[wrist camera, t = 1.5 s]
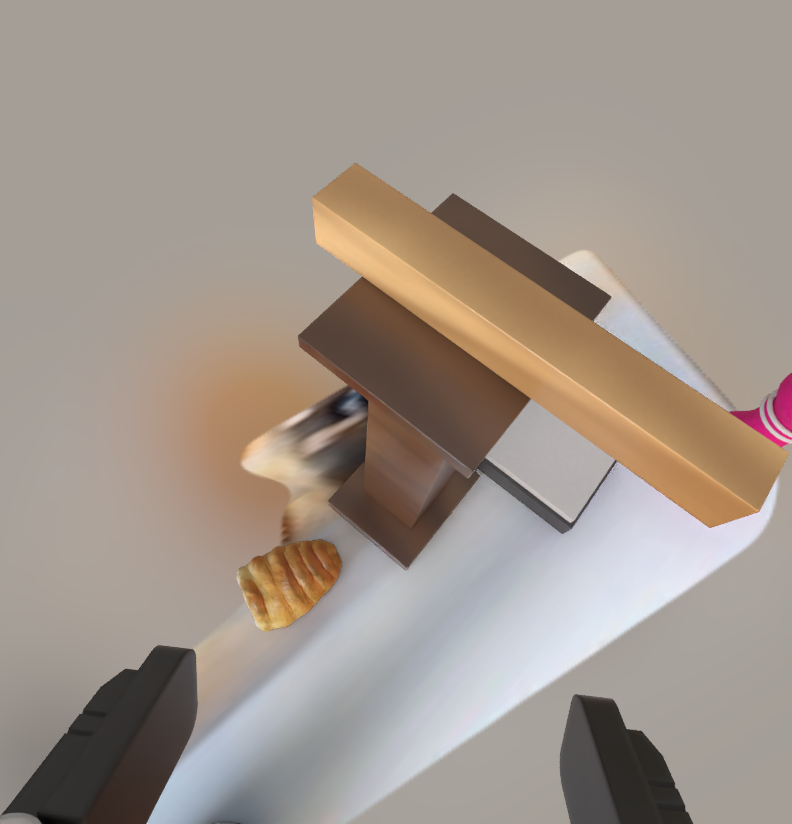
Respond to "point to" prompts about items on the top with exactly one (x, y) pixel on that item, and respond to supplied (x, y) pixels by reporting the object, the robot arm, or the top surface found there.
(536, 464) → the scale
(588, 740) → the robot arm
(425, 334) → the stand
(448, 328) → the beech stick
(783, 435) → the pepper mill
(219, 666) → the top surface
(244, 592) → the pastry
